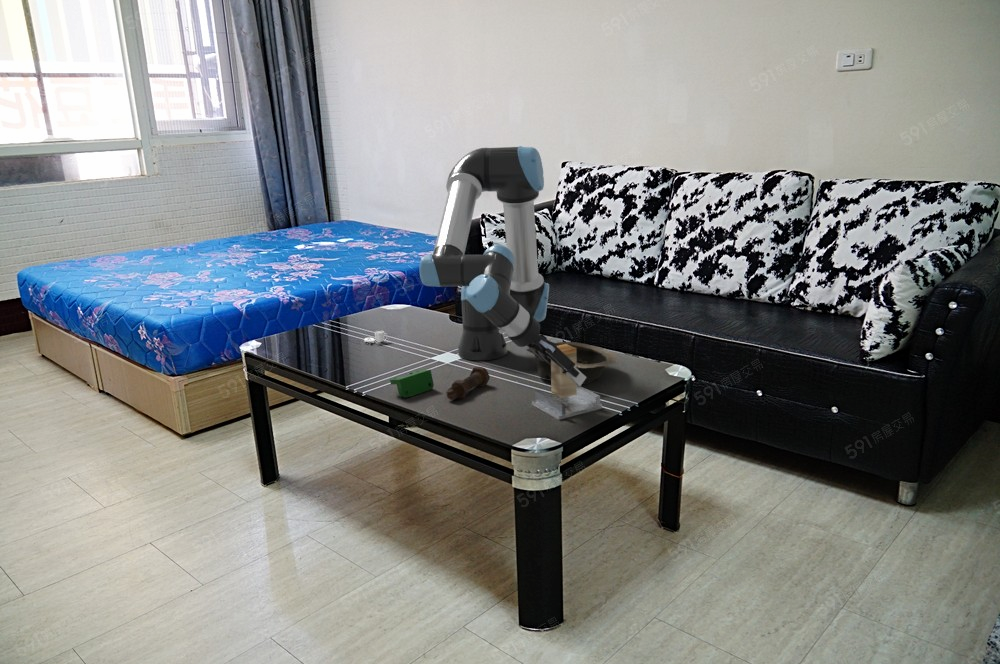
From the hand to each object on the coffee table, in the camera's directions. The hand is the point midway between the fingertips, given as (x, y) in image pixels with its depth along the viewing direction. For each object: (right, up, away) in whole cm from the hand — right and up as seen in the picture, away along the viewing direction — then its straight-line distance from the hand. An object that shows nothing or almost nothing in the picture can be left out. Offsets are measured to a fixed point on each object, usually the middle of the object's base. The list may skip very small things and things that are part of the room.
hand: (576, 378), depth 188 cm
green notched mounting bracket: (-43, -5, +15) cm, 46 cm away
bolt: (-28, -5, +13) cm, 31 cm away
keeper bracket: (-3, -7, 0) cm, 8 cm away
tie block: (-3, -4, -1) cm, 5 cm away
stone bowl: (+2, -1, +23) cm, 23 cm away
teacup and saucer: (-60, +8, +63) cm, 88 cm away
